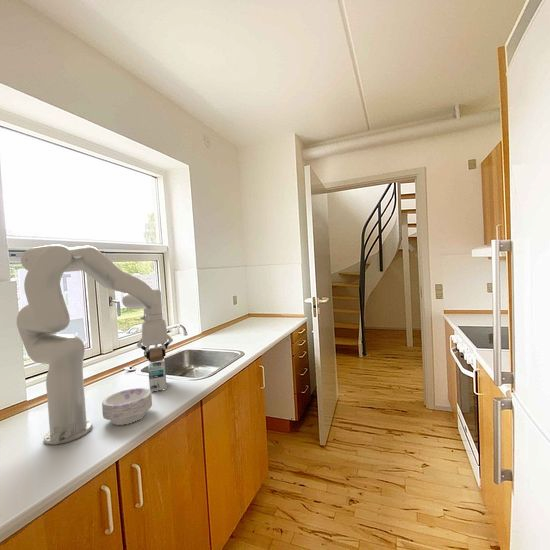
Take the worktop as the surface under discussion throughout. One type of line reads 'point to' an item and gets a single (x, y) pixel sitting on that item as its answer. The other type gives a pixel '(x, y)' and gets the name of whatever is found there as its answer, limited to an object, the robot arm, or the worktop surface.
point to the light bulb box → (157, 375)
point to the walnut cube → (156, 354)
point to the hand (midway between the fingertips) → (156, 358)
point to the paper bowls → (127, 405)
